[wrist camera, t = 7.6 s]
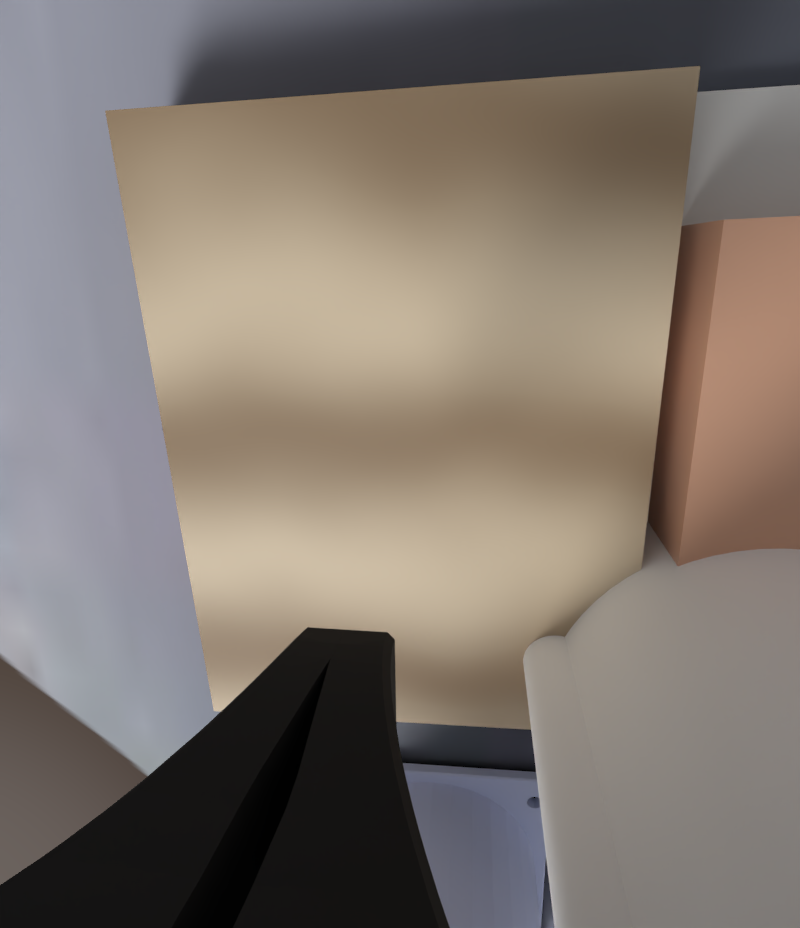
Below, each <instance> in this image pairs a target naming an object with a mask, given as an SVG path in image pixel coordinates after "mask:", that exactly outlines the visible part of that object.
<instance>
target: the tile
mask: <svg viewBox="0 0 800 928" xmlns="http://www.w3.org/2000/svg"><path fill="white" fill-rule="evenodd" d="M648 523H649V524H650V526H651V527H652V529H653V530H654V532H655V533H656V535H657V536H658V538H659V539H660V541H661V542H662V544H663V545H664V547H665V548H666V550H667V551H668V553H669V554H670V556H671V557H672V559H673V560H674V562H675V563H676V565H677V566H681V565H683V564H686V563H689V562H692V561H696V560H699V559H703V558H707V557H711V556H715V555H720V554H726V553H731V552H737V551H746V550H756V549H784V548H785V549H800V216H786V217H767V218H747V219H727V220H718V221H712V222H705V223H698V224H692V225H685V226H682V227H681V236H680V244H679V253H678V261H677V270H676V278H675V287H674V295H673V304H672V313H671V321H670V330H669V338H668V347H667V355H666V364H665V372H664V381H663V389H662V398H661V406H660V415H659V423H658V433H657V442H656V451H655V460H654V469H653V478H652V487H651V496H650V505H649V514H648Z"/></svg>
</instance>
